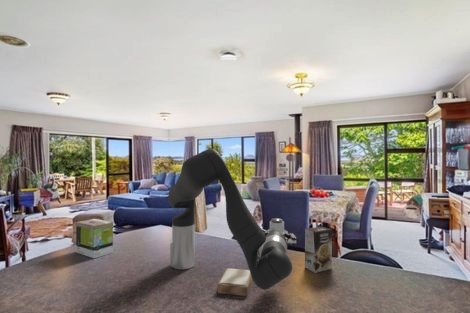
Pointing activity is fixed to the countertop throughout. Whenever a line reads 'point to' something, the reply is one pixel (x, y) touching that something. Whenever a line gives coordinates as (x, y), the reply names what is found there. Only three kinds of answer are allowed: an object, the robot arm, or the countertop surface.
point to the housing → (277, 225)
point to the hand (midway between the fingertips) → (277, 232)
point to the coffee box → (318, 249)
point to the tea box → (94, 237)
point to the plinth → (235, 282)
